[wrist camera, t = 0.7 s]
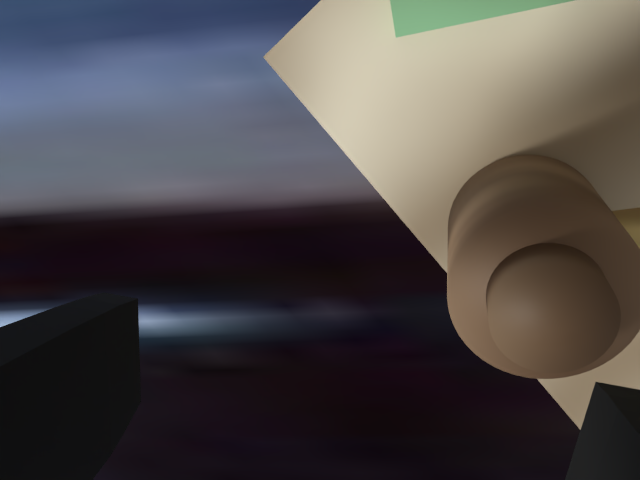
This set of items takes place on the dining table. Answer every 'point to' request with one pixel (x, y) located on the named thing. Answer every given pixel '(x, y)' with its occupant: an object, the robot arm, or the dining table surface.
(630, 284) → the knob
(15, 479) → the robot arm
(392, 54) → the tuner board
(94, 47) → the dining table surface
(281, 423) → the dining table surface
